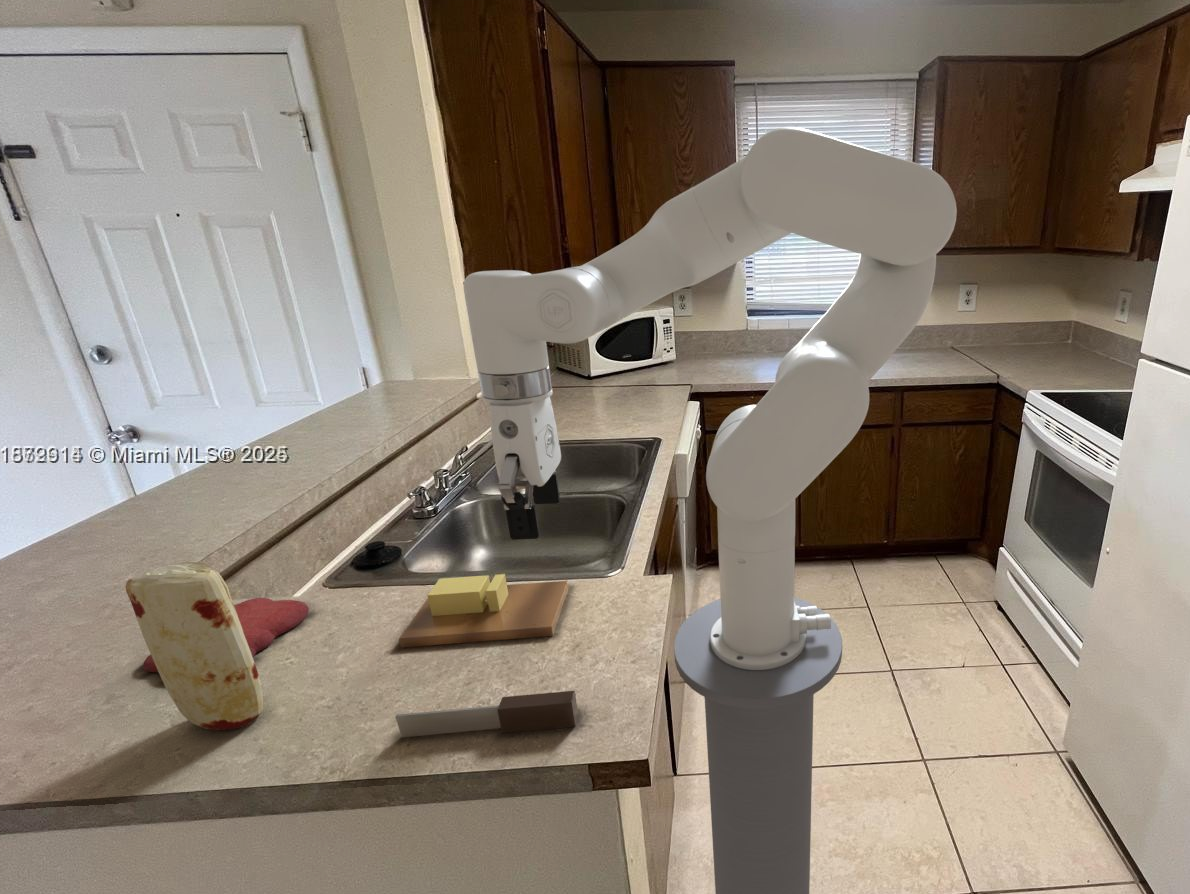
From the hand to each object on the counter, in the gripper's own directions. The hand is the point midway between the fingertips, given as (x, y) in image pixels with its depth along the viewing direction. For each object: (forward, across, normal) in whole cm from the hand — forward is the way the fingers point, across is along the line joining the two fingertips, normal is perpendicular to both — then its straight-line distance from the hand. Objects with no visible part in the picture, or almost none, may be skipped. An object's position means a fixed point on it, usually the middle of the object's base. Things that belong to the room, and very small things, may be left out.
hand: (537, 519), depth 75 cm
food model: (+20, -9, +35) cm, 41 cm away
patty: (+20, +6, +45) cm, 50 cm away
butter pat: (+18, +10, +10) cm, 23 cm away
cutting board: (+19, +9, +12) cm, 24 cm away
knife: (+19, -14, +4) cm, 24 cm away
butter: (+18, +10, +16) cm, 26 cm away
